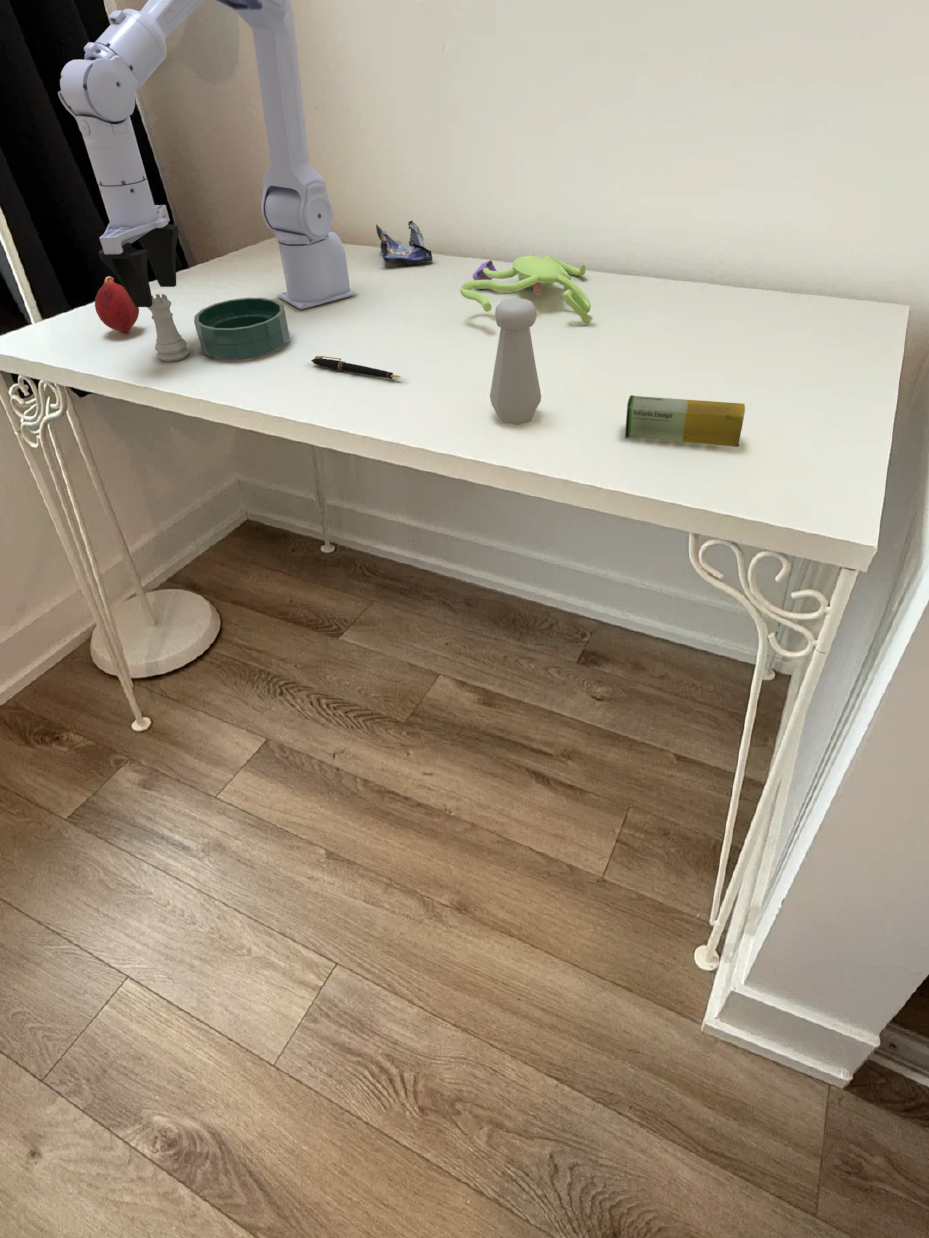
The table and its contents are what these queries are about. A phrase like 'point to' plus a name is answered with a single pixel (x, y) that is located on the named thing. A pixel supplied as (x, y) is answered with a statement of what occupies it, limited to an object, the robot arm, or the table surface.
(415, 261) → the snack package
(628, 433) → the medication box
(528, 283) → the figurine
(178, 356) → the rook chess piece
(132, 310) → the onion
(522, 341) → the salt shaker
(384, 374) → the fountain pen
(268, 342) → the green faceted bowl
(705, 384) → the table surface
